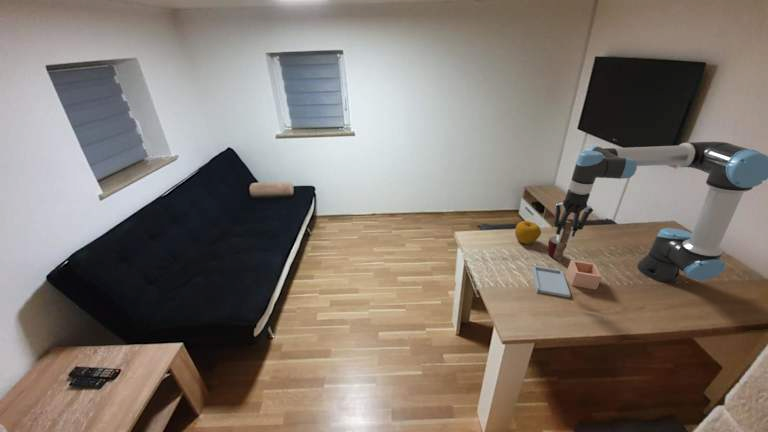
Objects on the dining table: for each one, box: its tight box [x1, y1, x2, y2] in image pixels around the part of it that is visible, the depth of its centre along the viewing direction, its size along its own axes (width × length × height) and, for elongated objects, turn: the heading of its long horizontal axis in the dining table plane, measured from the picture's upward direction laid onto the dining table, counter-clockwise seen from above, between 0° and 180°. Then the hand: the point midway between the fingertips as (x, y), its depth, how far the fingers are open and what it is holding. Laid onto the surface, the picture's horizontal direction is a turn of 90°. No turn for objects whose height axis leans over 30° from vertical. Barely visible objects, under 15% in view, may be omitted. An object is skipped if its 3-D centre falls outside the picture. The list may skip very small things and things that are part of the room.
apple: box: [514, 220, 542, 245], centre depth 168 cm, size 13×13×11 cm
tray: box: [531, 265, 572, 298], centre depth 139 cm, size 18×13×2 cm
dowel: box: [552, 220, 573, 261], centre depth 128 cm, size 3×3×18 cm
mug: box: [547, 236, 568, 259], centre depth 154 cm, size 11×8×10 cm
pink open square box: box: [566, 259, 602, 290], centre depth 138 cm, size 10×10×8 cm
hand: (562, 241), depth 129 cm, fingers closed on dowel, 3 cm apart
